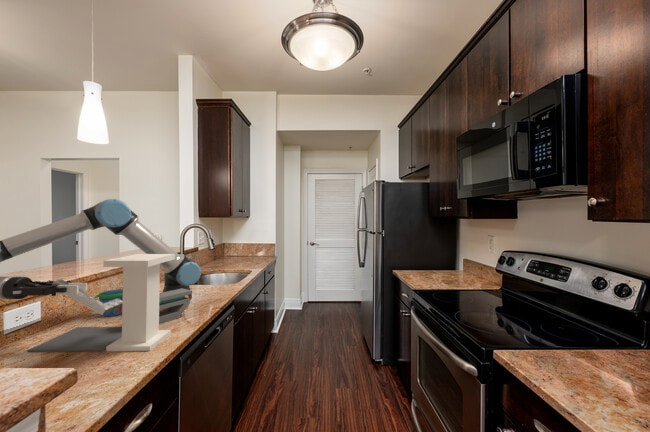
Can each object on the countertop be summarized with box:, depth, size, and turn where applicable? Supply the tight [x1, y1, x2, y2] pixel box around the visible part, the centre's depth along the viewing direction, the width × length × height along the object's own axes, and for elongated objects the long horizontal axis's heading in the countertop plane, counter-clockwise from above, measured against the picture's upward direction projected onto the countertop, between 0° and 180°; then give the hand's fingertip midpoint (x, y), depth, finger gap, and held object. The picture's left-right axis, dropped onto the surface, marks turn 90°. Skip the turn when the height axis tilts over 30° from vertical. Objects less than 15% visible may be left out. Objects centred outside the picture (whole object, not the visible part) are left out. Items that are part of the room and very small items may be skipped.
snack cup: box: [94, 288, 123, 318], centre depth 130 cm, size 16×10×10 cm
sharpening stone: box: [159, 288, 193, 325], centre depth 122 cm, size 25×8×11 cm, turn 149°
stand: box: [102, 253, 175, 352], centre depth 101 cm, size 14×18×30 cm
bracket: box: [51, 279, 123, 316], centre depth 103 cm, size 20×10×2 cm
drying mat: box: [26, 326, 122, 353], centre depth 103 cm, size 24×20×1 cm
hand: (81, 288), depth 100 cm, fingers closed on bracket, 3 cm apart
